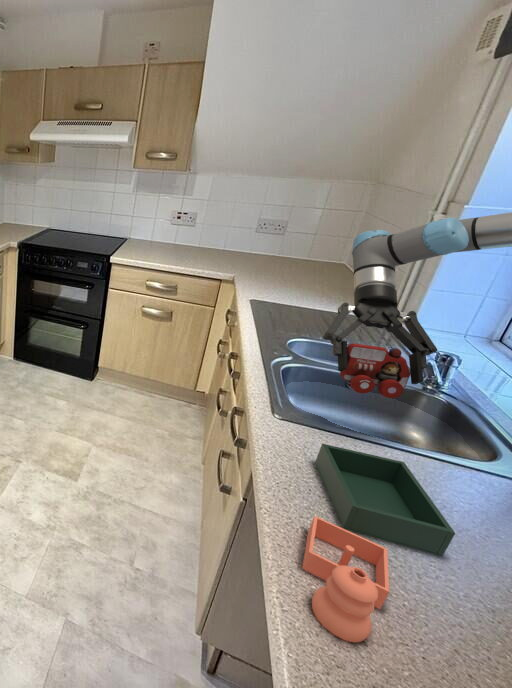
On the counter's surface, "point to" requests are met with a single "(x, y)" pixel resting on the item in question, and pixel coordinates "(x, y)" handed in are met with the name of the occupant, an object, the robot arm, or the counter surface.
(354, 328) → the robot arm
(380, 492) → the toy tray
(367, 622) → the pottery
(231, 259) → the counter surface
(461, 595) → the counter surface
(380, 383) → the toy fire truck
